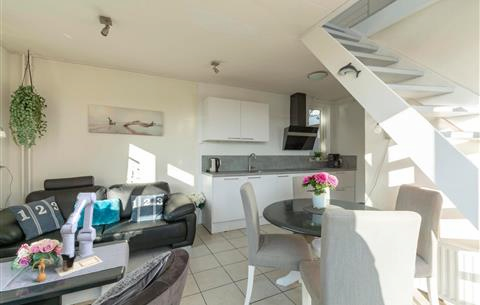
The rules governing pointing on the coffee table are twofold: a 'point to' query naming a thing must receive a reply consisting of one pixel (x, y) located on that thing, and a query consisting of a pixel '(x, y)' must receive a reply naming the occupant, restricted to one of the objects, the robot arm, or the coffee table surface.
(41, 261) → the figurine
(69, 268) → the stained block
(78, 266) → the card
